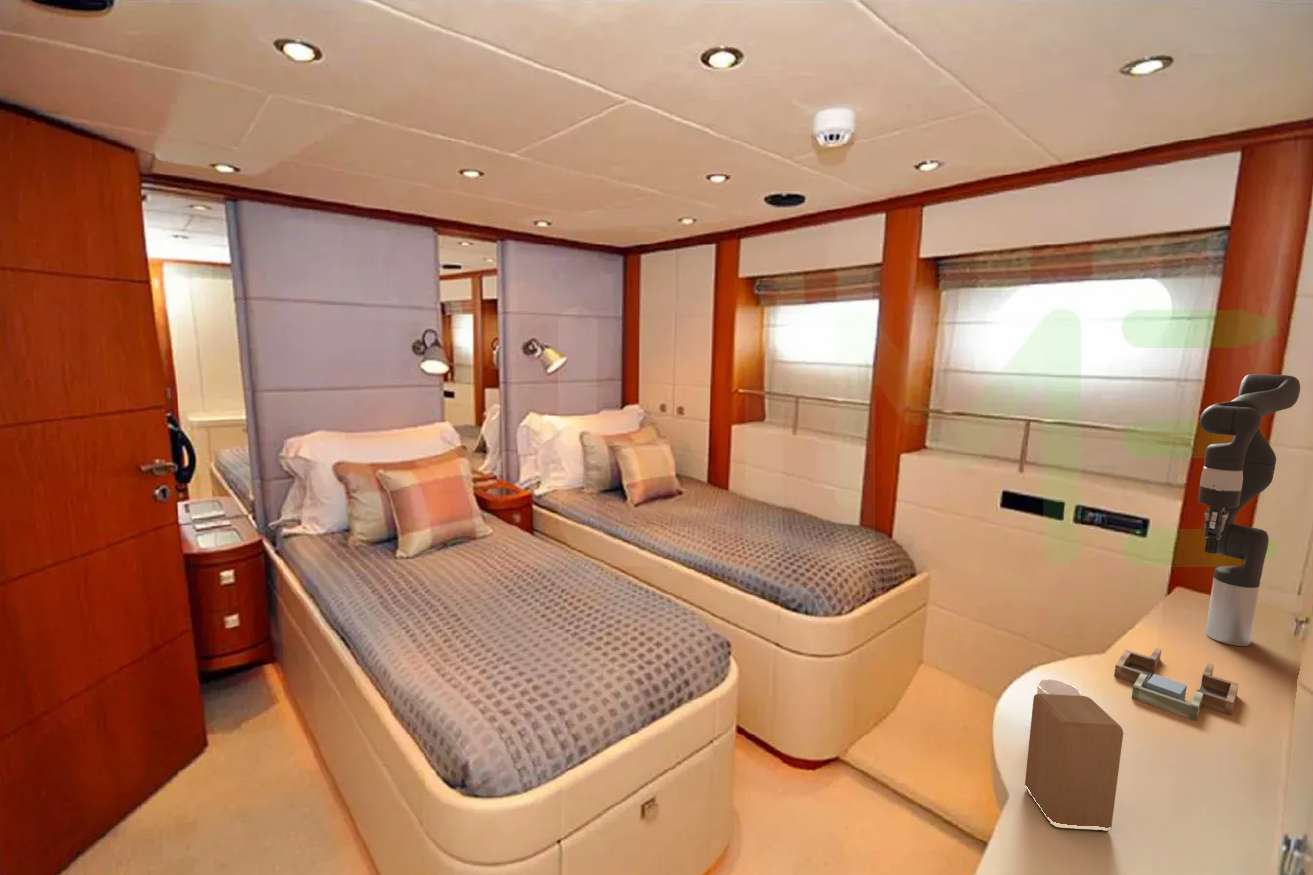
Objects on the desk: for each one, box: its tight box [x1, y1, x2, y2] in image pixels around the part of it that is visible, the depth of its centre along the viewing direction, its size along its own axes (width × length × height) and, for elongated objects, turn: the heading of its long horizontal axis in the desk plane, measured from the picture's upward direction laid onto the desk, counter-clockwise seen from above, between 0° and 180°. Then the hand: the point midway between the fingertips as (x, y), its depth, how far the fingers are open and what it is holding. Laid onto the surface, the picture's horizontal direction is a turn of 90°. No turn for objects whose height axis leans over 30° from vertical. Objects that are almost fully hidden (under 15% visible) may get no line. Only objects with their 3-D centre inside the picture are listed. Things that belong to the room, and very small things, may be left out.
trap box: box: [1113, 647, 1239, 721], centre depth 143 cm, size 27×21×3 cm
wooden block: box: [1024, 693, 1124, 828], centre depth 104 cm, size 10×10×20 cm
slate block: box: [1145, 673, 1188, 701], centre depth 138 cm, size 6×6×4 cm
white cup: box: [1036, 678, 1083, 696], centre depth 126 cm, size 8×8×10 cm
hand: (1210, 552), depth 148 cm, fingers closed
